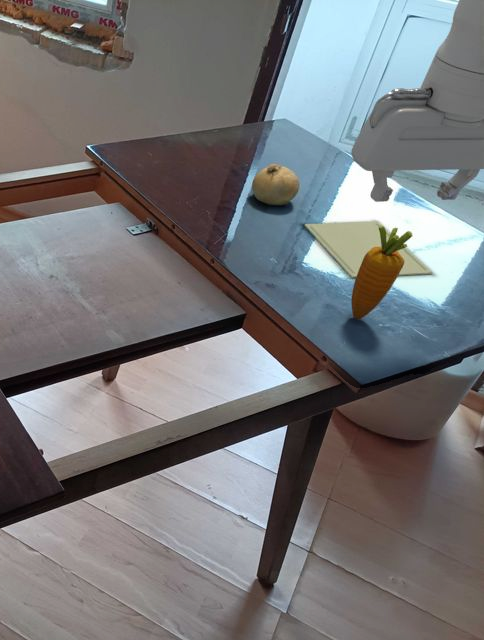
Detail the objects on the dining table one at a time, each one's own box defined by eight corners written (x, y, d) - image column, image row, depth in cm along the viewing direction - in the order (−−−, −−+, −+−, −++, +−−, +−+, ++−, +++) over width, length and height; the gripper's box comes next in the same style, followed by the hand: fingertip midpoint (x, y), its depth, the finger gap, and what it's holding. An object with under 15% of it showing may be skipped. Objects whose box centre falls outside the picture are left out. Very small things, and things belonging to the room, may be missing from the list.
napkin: (431, 273, 109) (432, 272, 109) (351, 278, 107) (352, 276, 107) (376, 222, 121) (377, 221, 121) (303, 225, 119) (304, 223, 119)
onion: (262, 186, 130) (273, 150, 125) (301, 201, 126) (313, 165, 121) (240, 199, 125) (251, 163, 120) (280, 216, 121) (292, 179, 116)
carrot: (330, 312, 100) (370, 222, 90) (356, 305, 101) (398, 216, 92) (355, 333, 96) (399, 241, 87) (381, 325, 98) (428, 234, 88)
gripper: (398, 99, 73) (349, 213, 82) (562, 99, 77) (498, 209, 86) (367, 78, 78) (324, 188, 87) (523, 79, 81) (466, 185, 90)
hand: (411, 198), depth 86 cm, fingers open, 8 cm apart
